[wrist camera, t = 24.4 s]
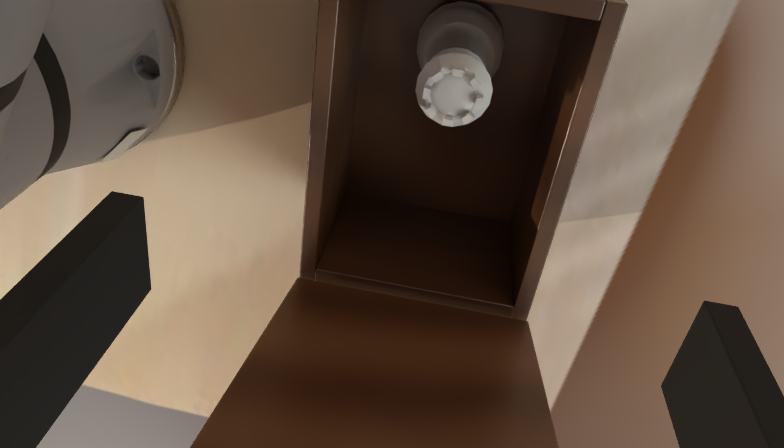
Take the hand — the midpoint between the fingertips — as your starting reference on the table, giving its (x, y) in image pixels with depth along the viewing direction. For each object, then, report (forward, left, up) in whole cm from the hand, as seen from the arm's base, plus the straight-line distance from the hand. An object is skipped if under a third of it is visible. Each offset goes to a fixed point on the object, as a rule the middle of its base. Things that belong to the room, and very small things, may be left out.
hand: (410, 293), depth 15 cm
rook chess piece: (0, 0, -22) cm, 22 cm away
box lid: (+6, -5, -5) cm, 10 cm away
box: (+3, -2, -22) cm, 22 cm away
